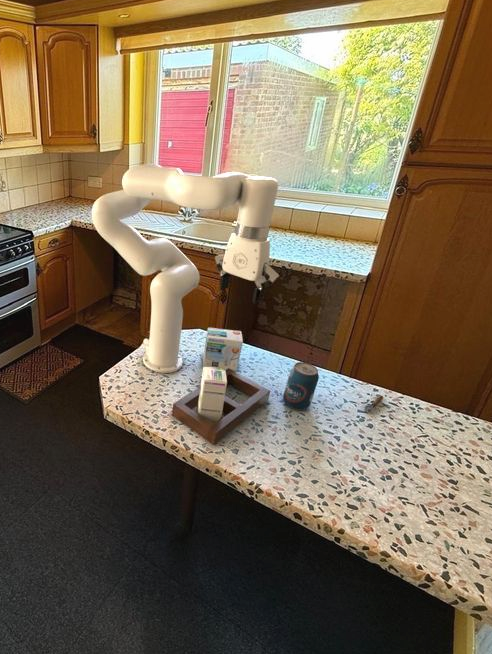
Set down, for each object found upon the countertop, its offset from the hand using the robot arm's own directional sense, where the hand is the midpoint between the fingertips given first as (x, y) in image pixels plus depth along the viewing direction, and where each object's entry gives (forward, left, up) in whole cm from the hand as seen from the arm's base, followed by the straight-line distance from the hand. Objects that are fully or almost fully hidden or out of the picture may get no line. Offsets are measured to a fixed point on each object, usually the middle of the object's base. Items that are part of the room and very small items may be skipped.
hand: (239, 295), depth 103 cm
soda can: (+17, +10, -31) cm, 36 cm away
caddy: (+5, -8, -30) cm, 32 cm away
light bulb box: (-8, +10, -31) cm, 33 cm away
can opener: (+31, +26, -30) cm, 51 cm away
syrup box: (+5, -14, -31) cm, 34 cm away
